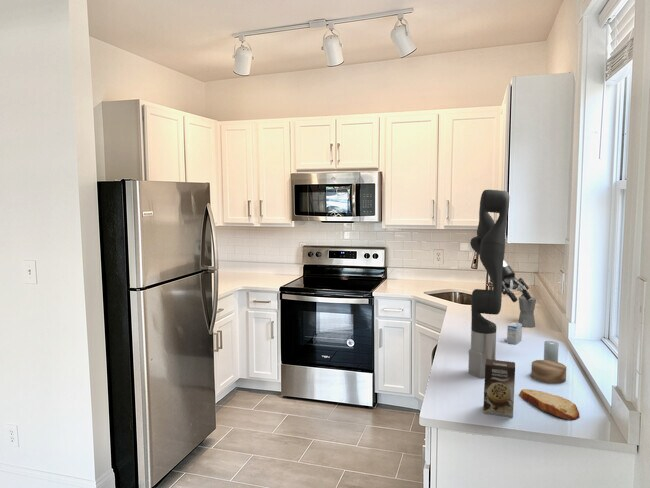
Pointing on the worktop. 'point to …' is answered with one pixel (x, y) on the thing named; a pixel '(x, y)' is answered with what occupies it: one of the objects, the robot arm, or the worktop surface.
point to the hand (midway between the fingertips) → (522, 300)
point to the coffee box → (499, 387)
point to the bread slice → (551, 404)
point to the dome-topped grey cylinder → (551, 351)
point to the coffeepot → (527, 311)
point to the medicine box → (514, 333)
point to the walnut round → (548, 371)
